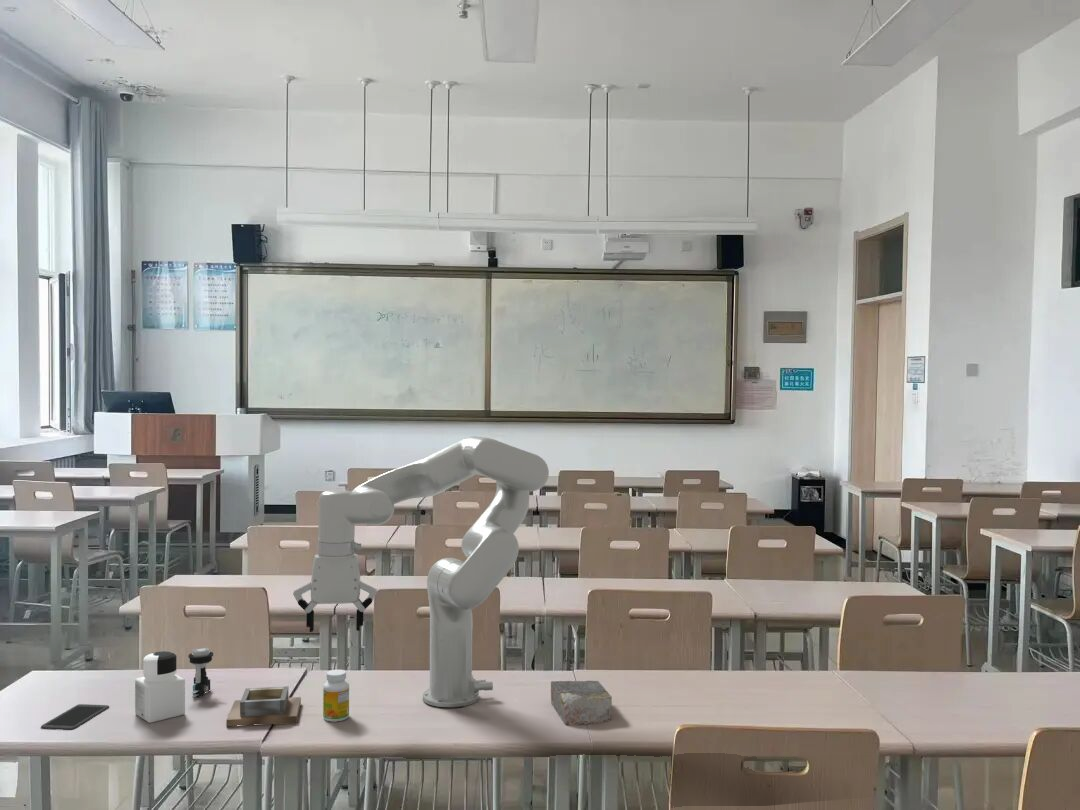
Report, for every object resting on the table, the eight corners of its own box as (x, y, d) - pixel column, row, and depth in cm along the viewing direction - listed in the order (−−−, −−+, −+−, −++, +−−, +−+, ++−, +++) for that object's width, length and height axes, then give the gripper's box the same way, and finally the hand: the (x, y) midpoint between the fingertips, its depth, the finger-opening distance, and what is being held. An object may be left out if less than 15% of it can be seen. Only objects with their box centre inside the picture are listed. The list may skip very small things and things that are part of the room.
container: (170, 705, 204) (170, 646, 204) (185, 714, 198) (185, 654, 198) (134, 714, 198) (134, 653, 198) (149, 723, 193) (149, 661, 193)
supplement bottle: (318, 717, 197) (318, 672, 197) (339, 711, 201) (339, 666, 201) (332, 724, 193) (332, 677, 193) (354, 717, 197) (354, 672, 197)
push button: (204, 699, 208) (204, 655, 208) (181, 699, 208) (181, 654, 208) (217, 690, 214) (217, 647, 214) (194, 689, 215) (194, 646, 214)
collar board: (300, 703, 206) (300, 683, 205) (296, 723, 194) (296, 701, 194) (234, 707, 203) (234, 686, 203) (226, 727, 191) (226, 705, 191)
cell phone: (110, 708, 203) (110, 705, 203) (72, 732, 189) (72, 728, 189) (78, 707, 203) (78, 703, 203) (38, 730, 190) (38, 726, 190)
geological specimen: (596, 678, 210) (615, 696, 196) (595, 705, 210) (614, 725, 195) (550, 679, 208) (565, 697, 194) (549, 706, 208) (564, 727, 193)
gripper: (377, 545, 202) (376, 624, 202) (295, 546, 199) (294, 626, 199) (377, 551, 194) (376, 633, 195) (292, 552, 191) (291, 635, 191)
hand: (334, 629), depth 197 cm, fingers open, 9 cm apart
